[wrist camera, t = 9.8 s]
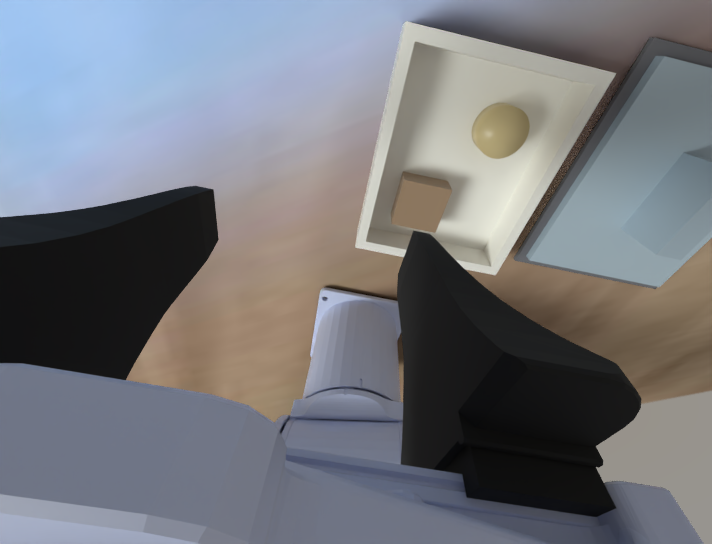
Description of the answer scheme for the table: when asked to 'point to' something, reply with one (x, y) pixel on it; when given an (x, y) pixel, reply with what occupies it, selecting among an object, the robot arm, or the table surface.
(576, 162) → the mat
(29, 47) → the table surface
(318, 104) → the table surface
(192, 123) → the table surface
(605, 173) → the lid
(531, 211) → the storage box
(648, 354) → the table surface
